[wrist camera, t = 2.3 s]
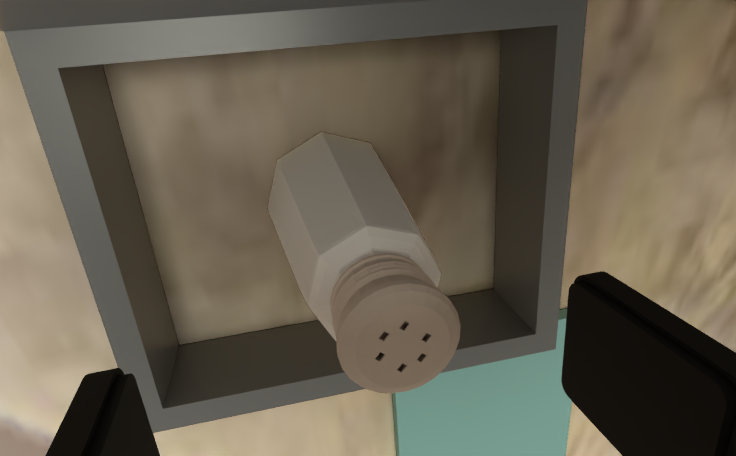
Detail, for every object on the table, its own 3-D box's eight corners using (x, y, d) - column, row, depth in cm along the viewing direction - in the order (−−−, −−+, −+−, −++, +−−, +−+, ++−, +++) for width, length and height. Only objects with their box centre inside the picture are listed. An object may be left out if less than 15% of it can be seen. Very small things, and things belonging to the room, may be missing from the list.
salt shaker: (240, 212, 20) (222, 392, 10) (315, 102, 19) (381, 177, 9) (345, 273, 22) (419, 474, 12) (417, 177, 21) (566, 306, 11)
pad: (572, 307, 25) (581, 315, 25) (557, 448, 29) (565, 459, 28) (388, 342, 24) (392, 352, 23) (398, 487, 28) (402, 499, 27)
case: (525, -3, 19) (588, -12, 15) (511, 302, 24) (555, 349, 21) (61, 32, 16) (4, 31, 13) (160, 368, 22) (141, 435, 18)
